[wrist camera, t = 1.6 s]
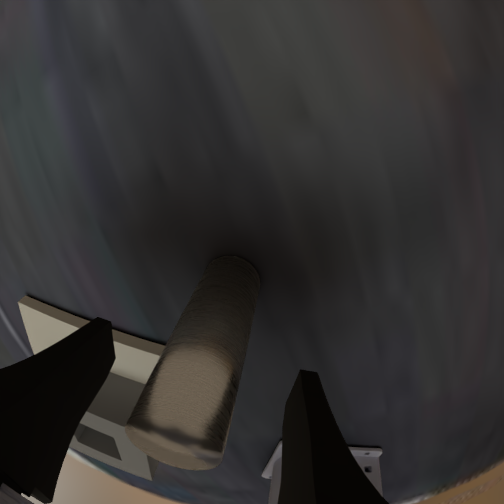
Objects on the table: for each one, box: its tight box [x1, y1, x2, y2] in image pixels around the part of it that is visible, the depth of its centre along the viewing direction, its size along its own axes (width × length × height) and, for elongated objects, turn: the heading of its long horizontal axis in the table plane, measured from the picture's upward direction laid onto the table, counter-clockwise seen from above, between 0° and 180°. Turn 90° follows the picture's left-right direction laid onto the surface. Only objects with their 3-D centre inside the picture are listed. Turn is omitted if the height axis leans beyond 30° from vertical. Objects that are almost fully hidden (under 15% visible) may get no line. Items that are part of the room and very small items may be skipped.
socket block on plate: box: [18, 295, 165, 481], centre depth 21 cm, size 16×16×5 cm
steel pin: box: [125, 256, 260, 470], centre depth 12 cm, size 3×3×10 cm
